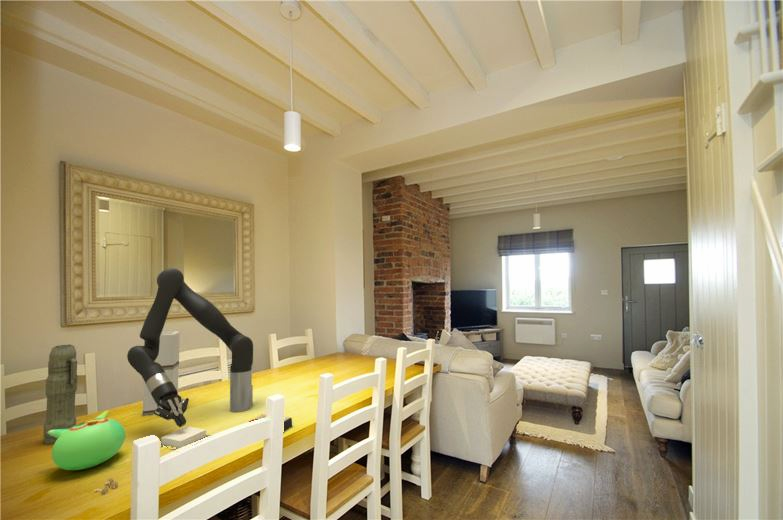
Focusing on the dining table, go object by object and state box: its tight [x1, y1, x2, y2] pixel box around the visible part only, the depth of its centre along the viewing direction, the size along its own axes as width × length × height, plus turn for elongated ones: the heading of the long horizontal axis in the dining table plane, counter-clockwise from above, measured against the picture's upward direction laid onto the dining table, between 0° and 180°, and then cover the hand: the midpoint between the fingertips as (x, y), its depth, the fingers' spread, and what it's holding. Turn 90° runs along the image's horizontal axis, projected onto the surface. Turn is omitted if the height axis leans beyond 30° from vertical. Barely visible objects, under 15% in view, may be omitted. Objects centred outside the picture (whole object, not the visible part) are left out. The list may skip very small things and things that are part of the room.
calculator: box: [248, 414, 293, 432], centre depth 138 cm, size 11×4×15 cm
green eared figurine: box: [47, 410, 126, 471], centre depth 113 cm, size 18×17×15 cm
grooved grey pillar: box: [142, 331, 181, 417], centre depth 163 cm, size 11×11×35 cm
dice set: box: [93, 477, 119, 495], centre depth 99 cm, size 5×5×2 cm
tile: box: [160, 426, 207, 448], centre depth 128 cm, size 3×10×10 cm
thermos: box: [42, 344, 78, 446], centre depth 134 cm, size 9×12×35 cm
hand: (183, 425), depth 128 cm, fingers closed
